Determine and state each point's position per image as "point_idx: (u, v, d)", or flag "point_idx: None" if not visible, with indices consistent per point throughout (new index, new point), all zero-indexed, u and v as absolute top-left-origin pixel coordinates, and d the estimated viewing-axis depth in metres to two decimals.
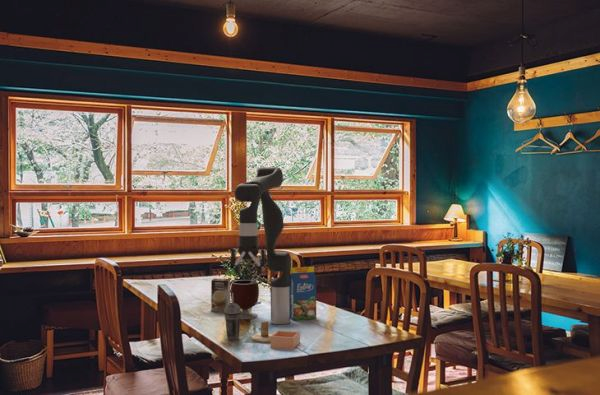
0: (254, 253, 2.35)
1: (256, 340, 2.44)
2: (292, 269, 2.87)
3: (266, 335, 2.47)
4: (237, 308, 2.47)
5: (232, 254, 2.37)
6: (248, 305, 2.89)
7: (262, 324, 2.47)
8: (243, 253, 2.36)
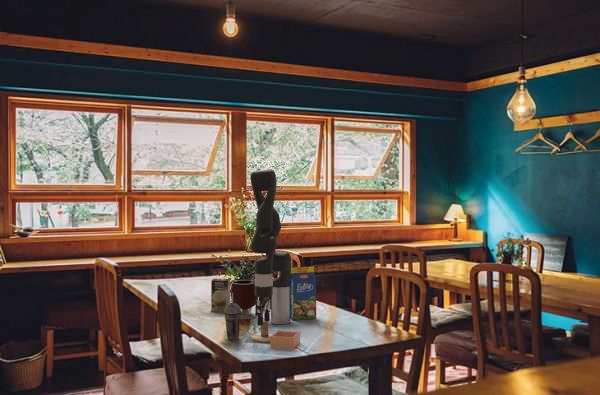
0: None
1: (256, 340, 2.44)
2: (292, 269, 2.87)
3: (266, 335, 2.47)
4: (237, 308, 2.47)
5: (261, 306, 2.42)
6: (248, 305, 2.89)
7: None
8: (267, 303, 2.46)
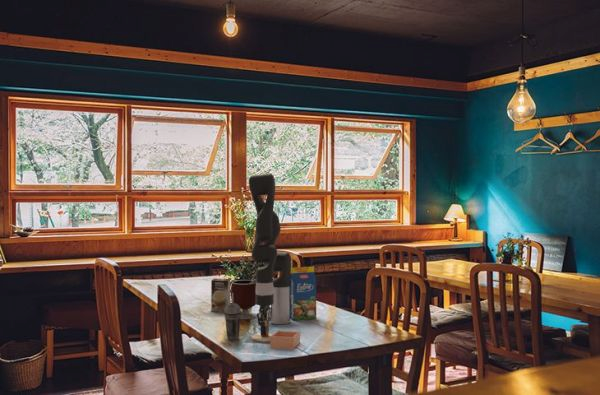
0: None
1: (256, 340, 2.44)
2: (292, 269, 2.87)
3: (266, 335, 2.47)
4: (237, 308, 2.47)
5: (263, 318, 2.43)
6: (248, 305, 2.89)
7: None
8: (268, 311, 2.47)
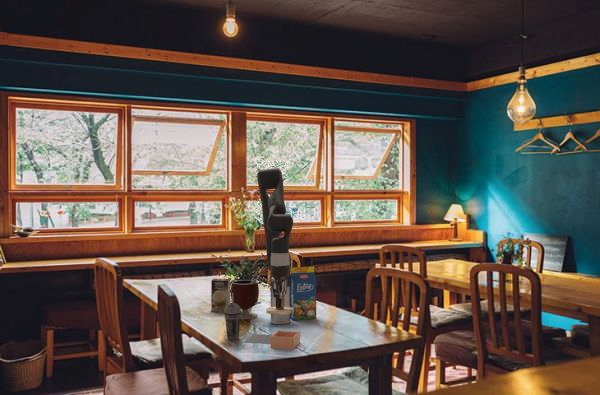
0: None
1: (271, 312, 2.35)
2: (292, 269, 2.87)
3: (281, 308, 2.38)
4: (237, 308, 2.47)
5: (278, 289, 2.34)
6: (248, 305, 2.89)
7: None
8: (283, 283, 2.38)
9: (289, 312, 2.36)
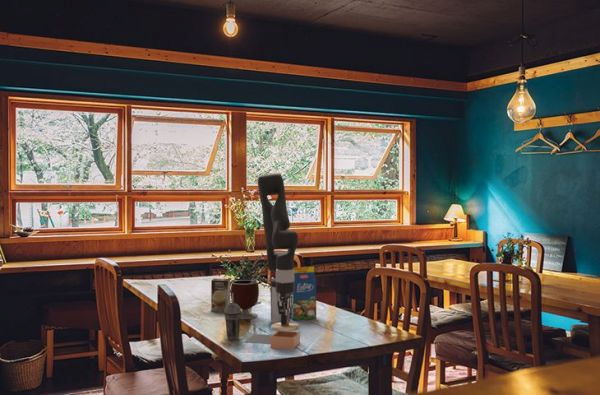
0: None
1: (276, 329, 2.34)
2: None
3: (286, 324, 2.37)
4: (237, 308, 2.47)
5: (284, 306, 2.33)
6: (248, 305, 2.89)
7: None
8: (288, 299, 2.37)
9: (295, 329, 2.35)
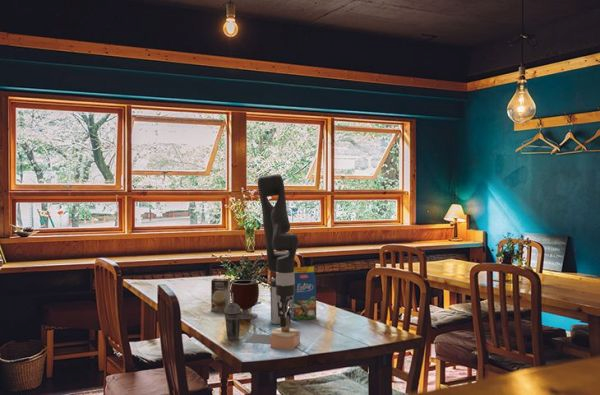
0: None
1: (277, 335, 2.34)
2: None
3: (287, 330, 2.38)
4: (237, 308, 2.47)
5: (284, 307, 2.33)
6: (248, 305, 2.89)
7: None
8: (289, 302, 2.37)
9: (295, 335, 2.35)
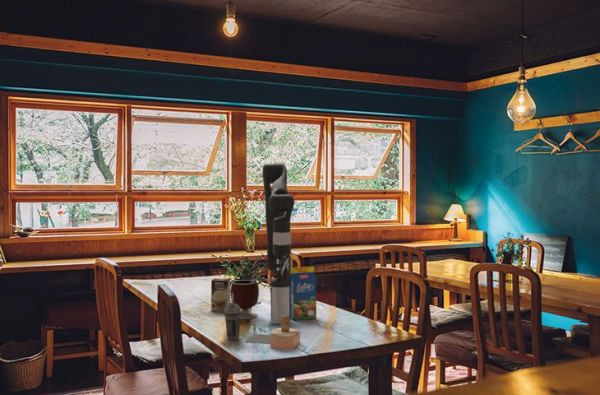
0: None
1: (277, 335, 2.34)
2: (292, 269, 2.87)
3: (287, 330, 2.38)
4: (237, 308, 2.47)
5: (281, 264, 2.40)
6: (248, 305, 2.89)
7: (283, 318, 2.38)
8: (286, 261, 2.45)
9: (295, 335, 2.35)
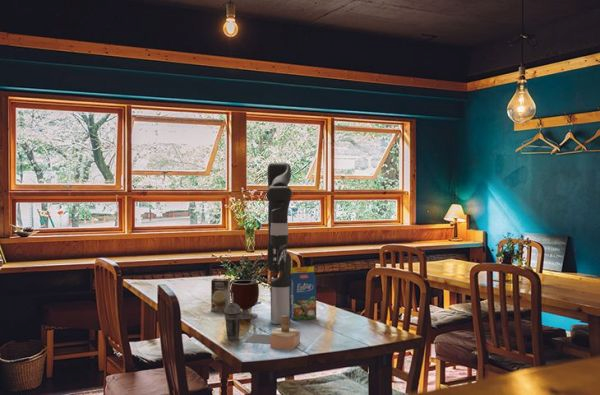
0: None
1: (277, 335, 2.34)
2: (292, 269, 2.87)
3: (287, 330, 2.38)
4: (237, 308, 2.47)
5: (277, 254, 2.45)
6: (248, 305, 2.89)
7: (283, 318, 2.38)
8: (282, 251, 2.50)
9: (295, 335, 2.35)
